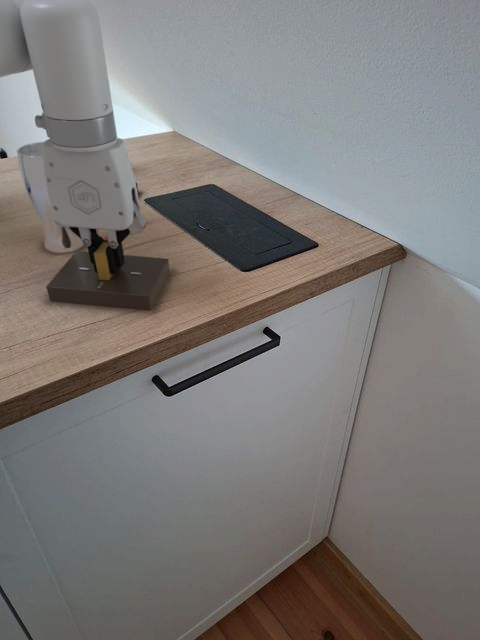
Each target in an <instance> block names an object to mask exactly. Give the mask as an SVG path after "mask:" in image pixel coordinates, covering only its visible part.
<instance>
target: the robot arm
mask: <svg viewBox="0 0 480 640" xmlns="http://www.w3.org/2000/svg"><path fill="white" fill-rule="evenodd" d="M28 71H32V73H33V75H34V81H35V85H36V89H37V94H38V97H39V101H40V105H41V109H42V113H41V115H39V114H36V115H35V116H34V123H35V126H36V127H37V128H39V129H43V130H45V132H46V137H47V138H48V139H46V140H45V141H43V142H44V143H43V154H44V170H45V178H46V185H47V191H48V197H49V202H50V206H51V211H52V214H53V217H54V219H55V223H56V224H57V225H59V226H61V227H64V228H66V229H69V230H71V231H72V232H73V233H75V234H76V235H77V236H78V237H79V238H80V239H82V243H83V244H84V245H83V246H85V247H86V248H87V252H89V256H90V260H91V263H92V264H93V265H94V270H95V273H98V271H97V267H96V262H95V257H94V253H95V251H96V250H97V249H98V247H99V246H100V245H101V244H102V242H103V241H104V239H105V238H103V236H100V233H99V230H105V231H106V235H107V236H106V237H108V247H107V248H106V254H107V259H108V264H109V269H110V273H111V274H115V275H116V274H117V272H118V271H119V269H120V268H121V266H123V265H124V261H125V259H124V255H125V253H124V248H123V242H124V241H125V240H126V239H127V238H128V237H129V236H133V235H136V234H141V233H143V232H144V230H145V229H146V227H147V224H146V222H145V219H144V218H143V215H142V213H141V212H140V208H141V207H140V199H139V192H138V193H137V188H136V183H137V182H136V179H135V174H134V171H133V167H132V163H131V160H130V157H129V154H128V151H127V148H126V146H125V143H124V141H123V139H122V138H120V137H118V133H117V126H116V120H115V114H114V106H113V100H112V94H111V88H110V81H109V80H110V79H109V75H108V73H109V72H108V68H107V61H106V55H105V48H104V41H103V35H102V28H101V23H100V18H99V14H98V11H97V9H96V7H95V6H94V4H93V2H91V1H90V0H0V78H3V77H7V76H10V75H15V74H20V73H24V72H28Z"/></svg>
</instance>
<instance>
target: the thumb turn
mask: <svg viewBox="0 0 480 640" xmlns="http://www.w3.org/2000/svg"><path fill="white" fill-rule="evenodd" d="M103 239H104V241H103V242H102V244H101V245H100V246H99V247H98V249H97V250H96V251H95V253H94V257H95V262H96V267H97V271H98V276H99V280H110V278H111V277H112V275H113V274H111V273H110V269H109V264H108V259H107V254H106V248H107V247H108V237H107V236H105V237H104V238H103Z"/></svg>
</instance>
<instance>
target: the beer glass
mask: <svg viewBox="0 0 480 640" xmlns="http://www.w3.org/2000/svg"><path fill="white" fill-rule="evenodd" d="M44 142H45V141H37V142H30V143H28V144H27V143H26V144H23V145H21V146H20V147H18V148H17V149H16V155H17V159H18V165H19V169H20V173H21V174H20V175H21V178H22V181H23V185H24V188H25V191H26V194H27V195H28V198H29V200H30V203H31V205H32V207H33V209H34V211H35V213H36V215H37V217H38V219H39V221H40V224H41V227H42V231H43V243H44V247H45V250H47V251H48V252H51V253H55V254H64V253H71V252H76V251H78V250H79V249H81V248H82V247H83V246H85V245H84V244H83V243H82V239H80V238H79V237H78V236H77V235H76V234H75V233H73V232H72V231H71V230H69V229H66V228H64V227H61V226H59V225H57V224H56V223H55V219H54V217H53V214H52V211H51V206H50V202H49V197H48V191H47V185H46V178H45V170H44V154H43V143H44Z"/></svg>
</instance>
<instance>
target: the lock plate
mask: <svg viewBox="0 0 480 640" xmlns="http://www.w3.org/2000/svg"><path fill="white" fill-rule="evenodd" d="M124 259H125V261H124V265H123V266H121V268H120V269H119V271H118V272H117V274H116V275H115V274H113V275H112V277H111V278H110V280H99V276H98V273H95V270H94V265H93V264H92V263H91V260H90V256H89V251H84V250H83V251H81V250H75V251H74V253H73V254H72V256H71V257H70V258H69V259H67V261H66V263H65V264H64V265H63V266H62V267H61V269H59V271H58V272H57V273H56V274H55V276H53V278H52V279H51V280H50V282H49V283H48V284H47V285H46V286H45V287H46V288H45V289H46V291H47V294H48V297H49V298H48V299H49V301H50V302H54V303H62V304H63V303H64V304H74V305H83V306H84V305H85V306H96V307H105V308H106V307H107V308H117V309H128V310H130V309H131V310H138V311H150V312H151V311H152V309H153V307H154V306H155V303H156V301H157V299H158V297H159V295H160V293H161V291H162V289H163V287H164V285H165V284H166V281H167V280H168V277H169V275H170V272H171V271H170V262H169V258H164V257H152V256H143V255H129V254H124Z"/></svg>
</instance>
